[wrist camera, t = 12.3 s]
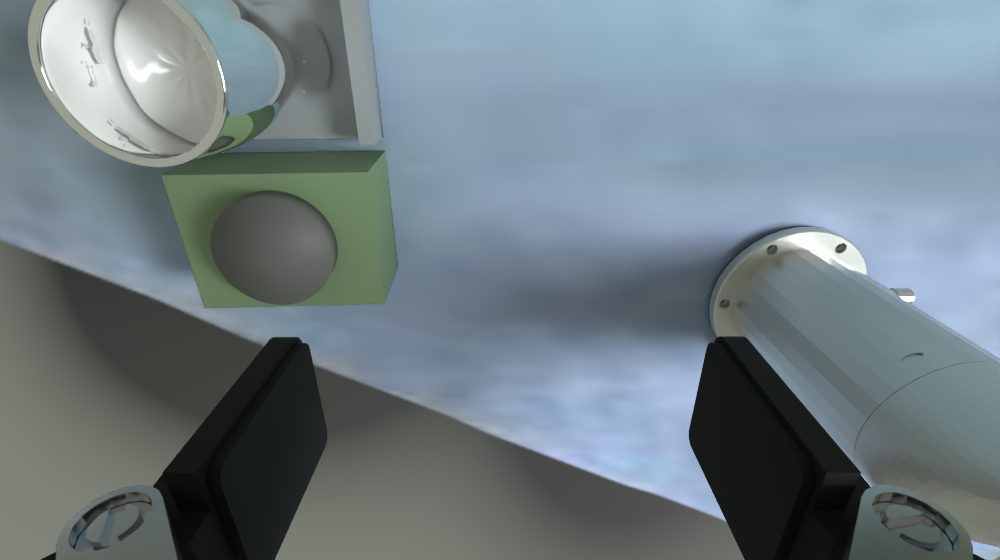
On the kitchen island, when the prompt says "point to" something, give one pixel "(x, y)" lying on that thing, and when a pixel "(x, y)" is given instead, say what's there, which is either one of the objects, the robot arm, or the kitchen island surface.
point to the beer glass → (174, 72)
